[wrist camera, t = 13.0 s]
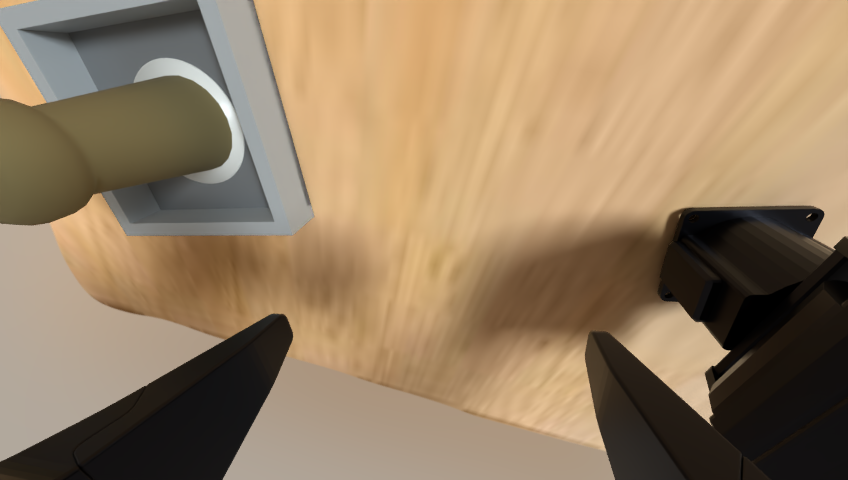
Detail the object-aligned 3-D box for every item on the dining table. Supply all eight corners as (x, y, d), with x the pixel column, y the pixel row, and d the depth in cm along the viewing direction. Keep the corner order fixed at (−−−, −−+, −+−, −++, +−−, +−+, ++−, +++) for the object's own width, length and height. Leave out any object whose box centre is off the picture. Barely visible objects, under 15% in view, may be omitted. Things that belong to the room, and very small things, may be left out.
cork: (204, 66, 19) (-69, 72, 10) (247, 164, 22) (65, 242, 13) (129, 84, 21) (-172, 104, 11) (178, 174, 24) (-32, 251, 14)
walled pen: (247, -21, 17) (203, -36, 15) (314, 216, 24) (292, 235, 21) (55, 16, 20) (-9, 10, 18) (162, 218, 27) (127, 235, 24)
